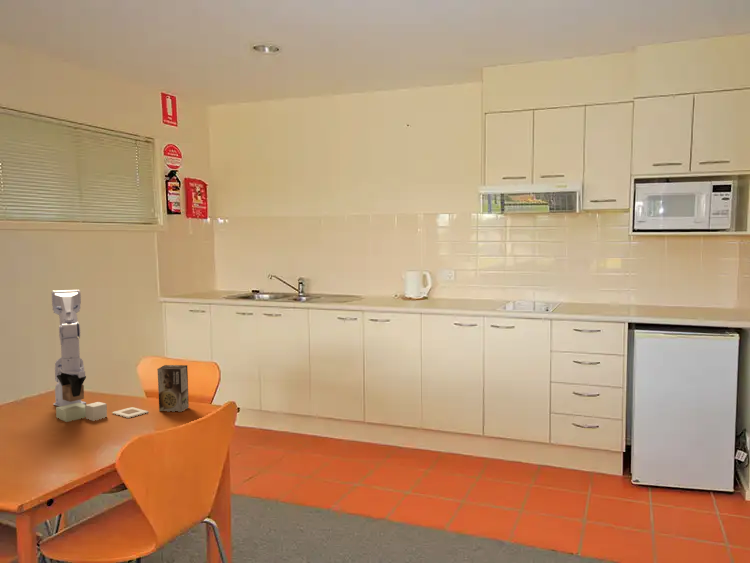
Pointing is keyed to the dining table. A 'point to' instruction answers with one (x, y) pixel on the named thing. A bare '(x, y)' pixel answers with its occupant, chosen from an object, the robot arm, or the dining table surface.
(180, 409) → the coffee box
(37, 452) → the dining table surface
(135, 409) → the card
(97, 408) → the grey cube
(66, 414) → the base block
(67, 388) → the walnut cube
